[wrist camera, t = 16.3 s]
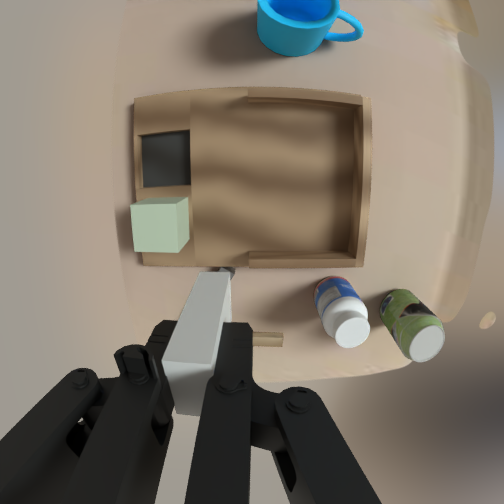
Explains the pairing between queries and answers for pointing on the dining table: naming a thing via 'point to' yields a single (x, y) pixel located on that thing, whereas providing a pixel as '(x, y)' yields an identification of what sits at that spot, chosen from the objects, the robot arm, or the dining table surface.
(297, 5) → the mug
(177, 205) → the block
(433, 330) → the beverage can
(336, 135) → the cubby deck
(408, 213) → the dining table surface
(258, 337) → the dowel
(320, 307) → the pill bottle
